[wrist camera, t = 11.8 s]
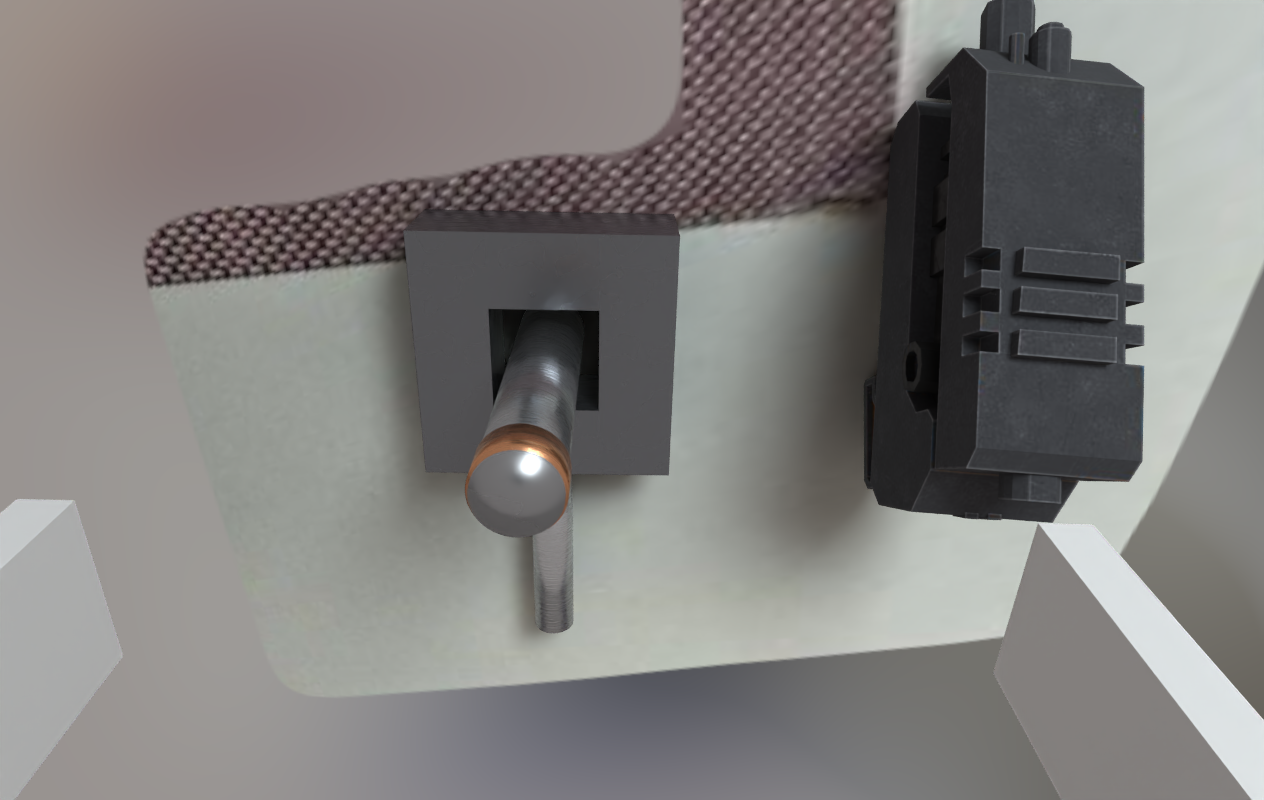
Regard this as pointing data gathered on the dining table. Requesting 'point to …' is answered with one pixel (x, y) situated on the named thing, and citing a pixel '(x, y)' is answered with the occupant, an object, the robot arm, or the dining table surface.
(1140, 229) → the toy gun
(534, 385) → the grey metal rod
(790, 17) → the dining table surface
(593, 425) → the grey holed block
